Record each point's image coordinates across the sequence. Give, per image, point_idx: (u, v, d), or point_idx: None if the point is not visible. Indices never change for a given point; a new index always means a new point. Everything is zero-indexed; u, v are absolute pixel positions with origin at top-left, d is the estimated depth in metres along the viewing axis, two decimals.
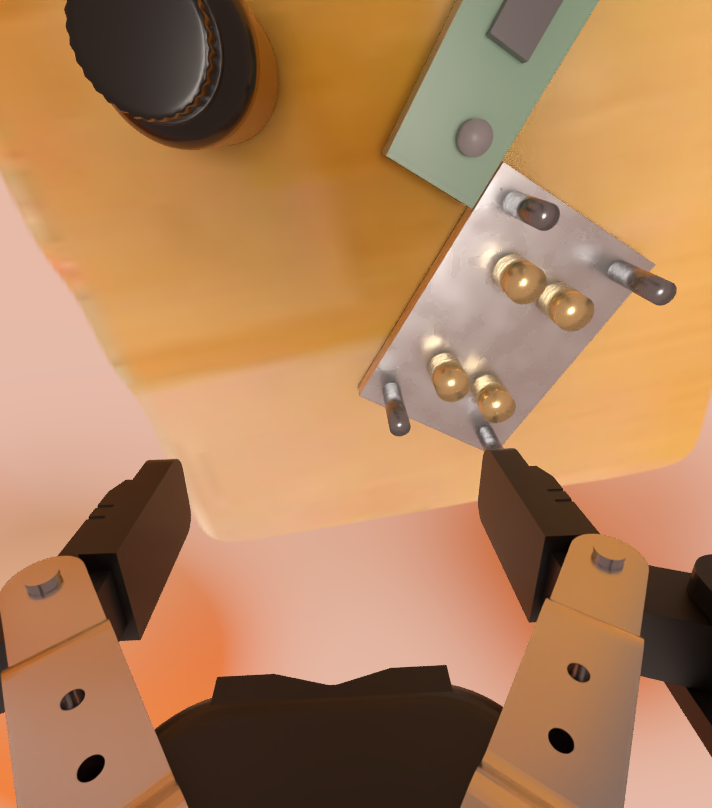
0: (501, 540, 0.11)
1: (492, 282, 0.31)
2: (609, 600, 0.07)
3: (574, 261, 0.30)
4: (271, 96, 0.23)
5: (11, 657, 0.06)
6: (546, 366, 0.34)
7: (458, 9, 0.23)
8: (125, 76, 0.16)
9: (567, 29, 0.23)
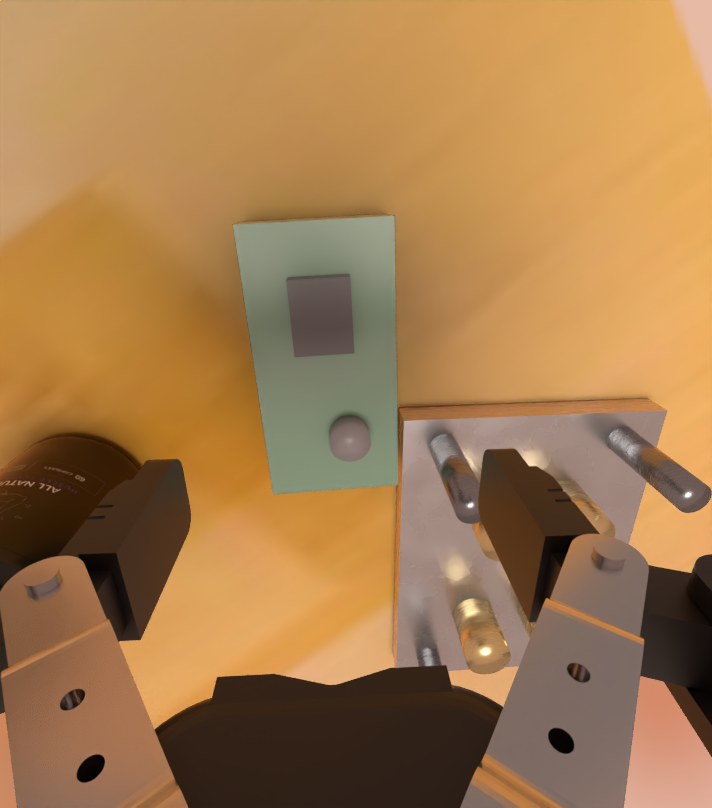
0: (501, 540, 0.11)
1: None
2: (609, 600, 0.07)
3: (557, 457, 0.23)
4: None
5: (11, 656, 0.06)
6: None
7: (252, 348, 0.19)
8: None
9: (379, 292, 0.18)
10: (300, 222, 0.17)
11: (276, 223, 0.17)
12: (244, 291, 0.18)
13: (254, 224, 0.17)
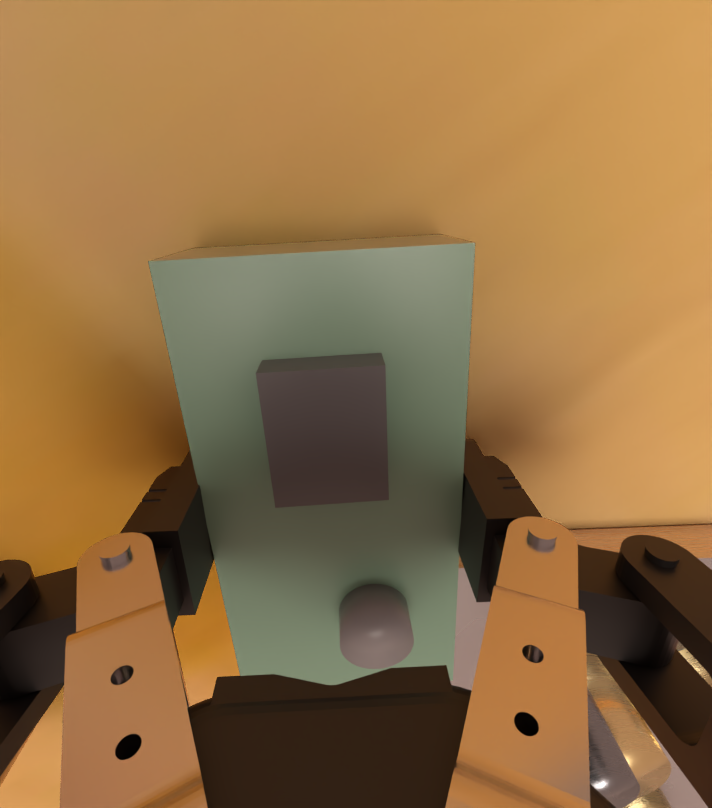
0: None
1: None
2: (548, 578, 0.07)
3: None
4: None
5: (79, 622, 0.07)
6: None
7: (199, 482, 0.10)
8: None
9: (437, 386, 0.10)
10: (285, 256, 0.08)
11: (237, 258, 0.08)
12: (179, 386, 0.09)
13: (192, 260, 0.08)
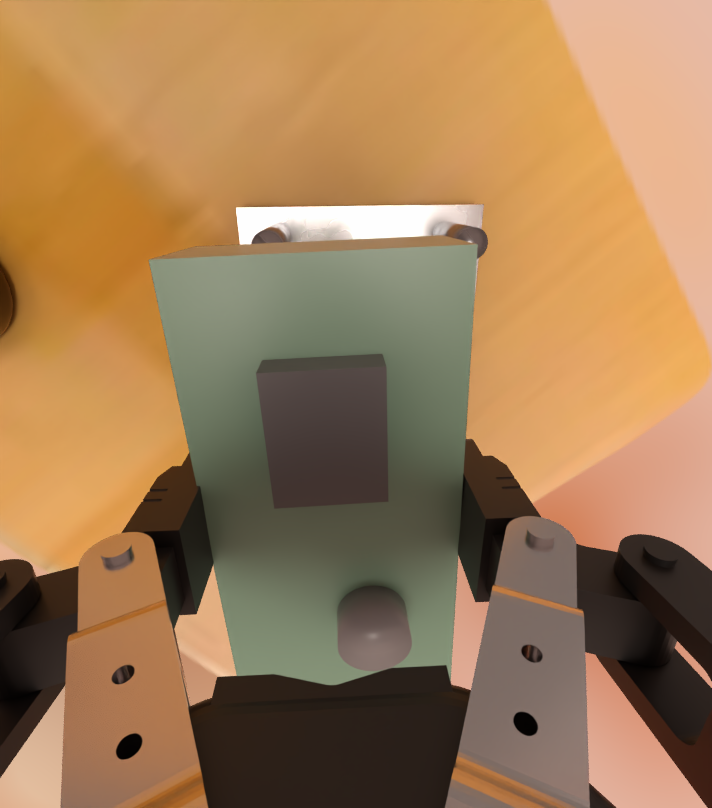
0: None
1: None
2: (546, 578, 0.07)
3: None
4: None
5: (81, 621, 0.07)
6: None
7: (198, 482, 0.10)
8: None
9: (438, 388, 0.10)
10: (286, 256, 0.08)
11: (238, 257, 0.08)
12: (178, 385, 0.09)
13: (193, 259, 0.08)
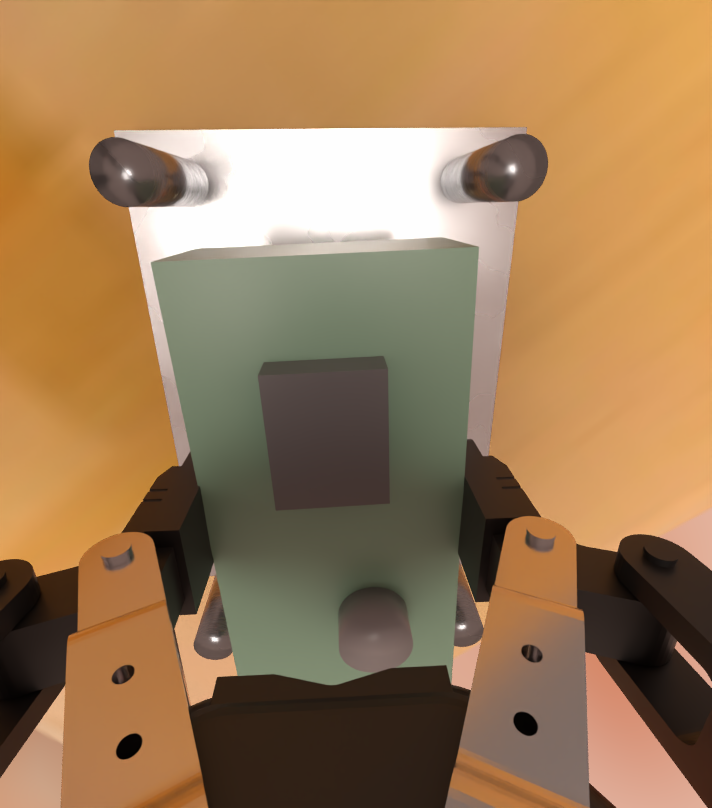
0: None
1: None
2: (546, 578, 0.07)
3: (369, 211, 0.15)
4: None
5: (81, 621, 0.07)
6: None
7: (199, 483, 0.10)
8: None
9: (440, 390, 0.10)
10: (288, 259, 0.08)
11: (240, 260, 0.08)
12: (180, 387, 0.09)
13: (195, 262, 0.08)
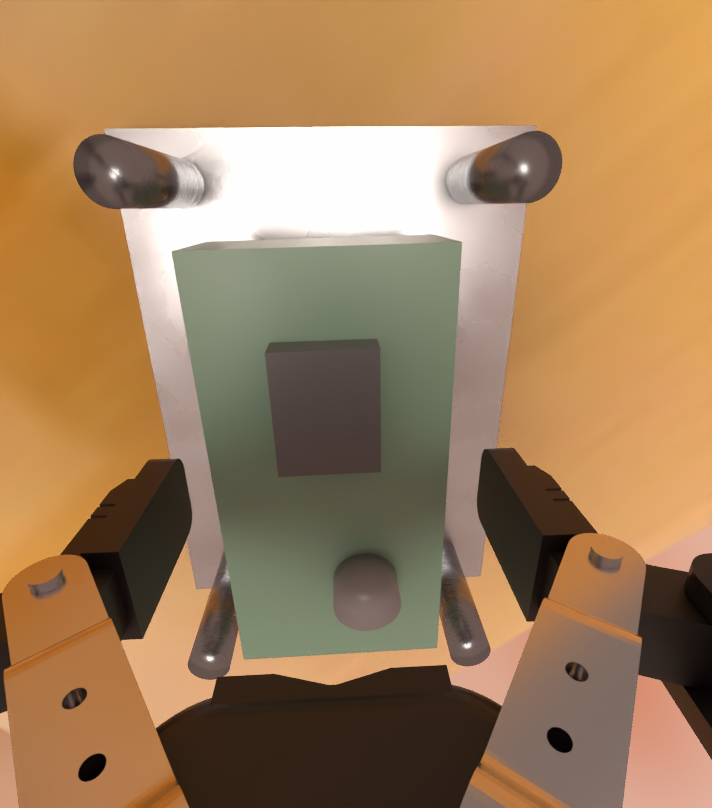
0: (499, 539, 0.11)
1: None
2: (606, 599, 0.07)
3: (371, 213, 0.15)
4: None
5: (13, 654, 0.06)
6: (462, 406, 0.18)
7: (209, 454, 0.11)
8: None
9: (427, 370, 0.11)
10: (293, 250, 0.09)
11: (250, 250, 0.09)
12: (194, 364, 0.10)
13: (210, 251, 0.09)
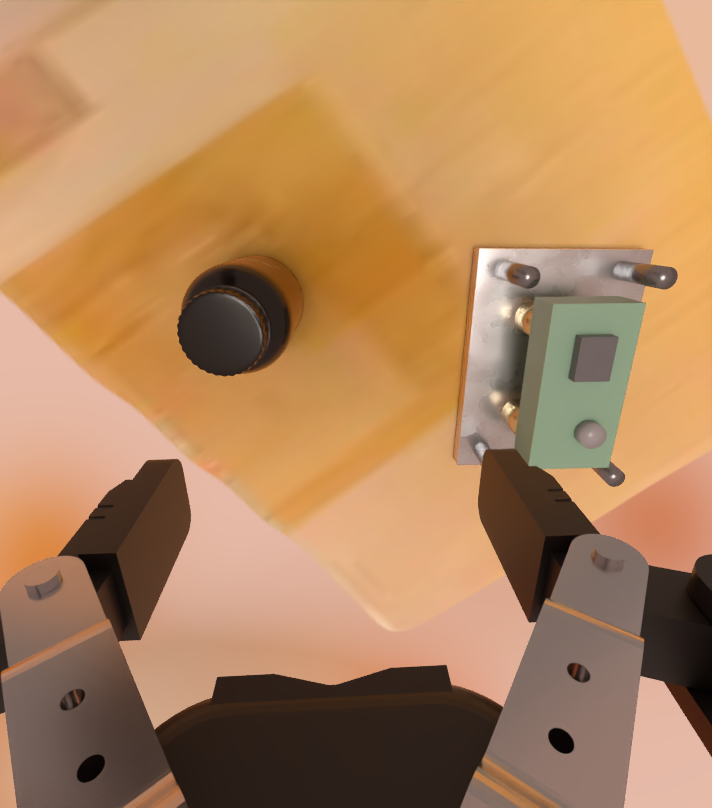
0: (501, 540, 0.11)
1: (519, 331, 0.36)
2: (609, 601, 0.07)
3: (579, 283, 0.34)
4: (299, 300, 0.33)
5: (11, 656, 0.06)
6: None
7: (542, 375, 0.31)
8: (220, 357, 0.25)
9: (626, 346, 0.30)
10: (591, 304, 0.29)
11: (577, 304, 0.29)
12: (548, 341, 0.30)
13: (565, 304, 0.29)
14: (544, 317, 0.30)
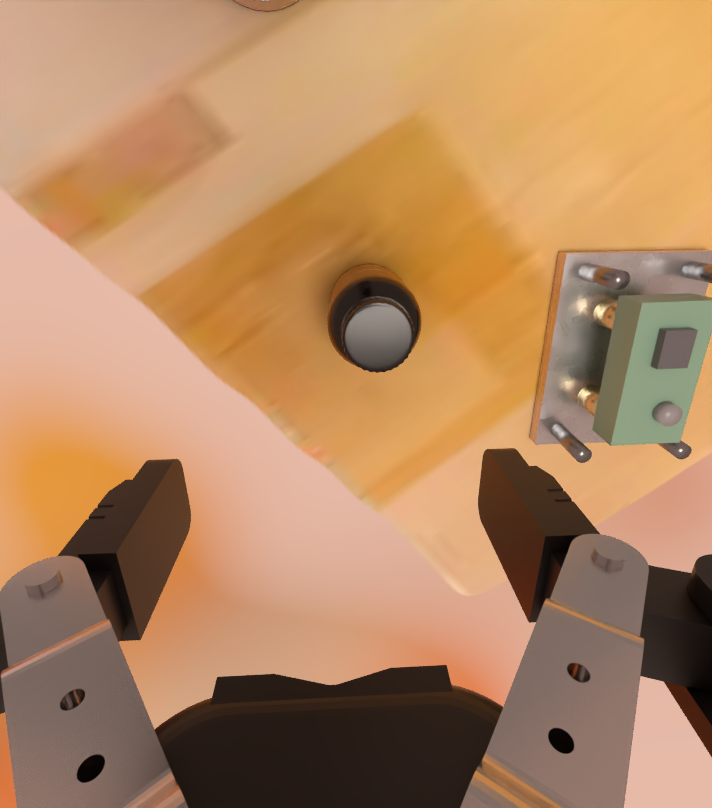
0: (501, 540, 0.11)
1: (597, 325, 0.41)
2: (609, 600, 0.07)
3: (652, 281, 0.39)
4: None
5: (11, 656, 0.06)
6: None
7: (628, 364, 0.36)
8: (376, 357, 0.30)
9: (702, 337, 0.35)
10: (674, 302, 0.34)
11: (662, 302, 0.34)
12: (635, 335, 0.35)
13: (652, 303, 0.34)
14: (631, 314, 0.35)
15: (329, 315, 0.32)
